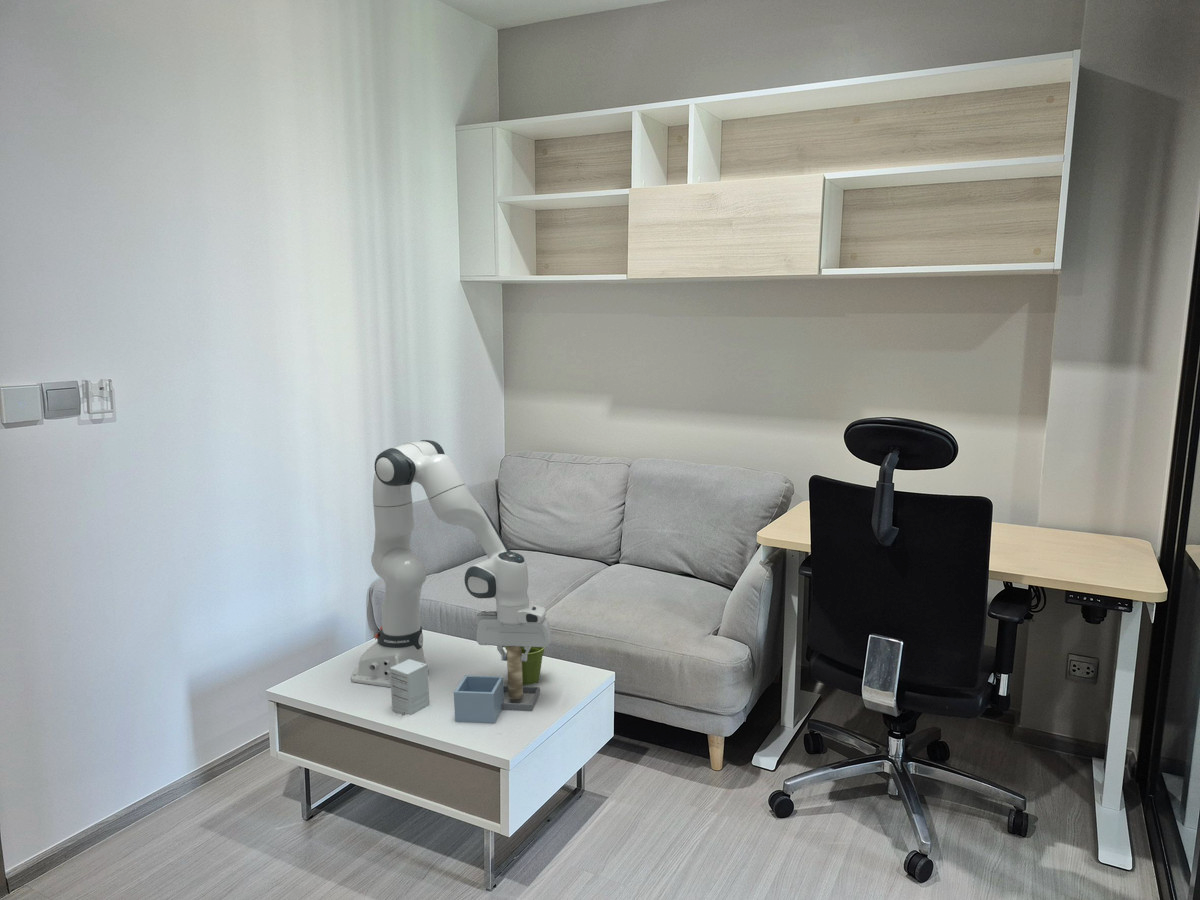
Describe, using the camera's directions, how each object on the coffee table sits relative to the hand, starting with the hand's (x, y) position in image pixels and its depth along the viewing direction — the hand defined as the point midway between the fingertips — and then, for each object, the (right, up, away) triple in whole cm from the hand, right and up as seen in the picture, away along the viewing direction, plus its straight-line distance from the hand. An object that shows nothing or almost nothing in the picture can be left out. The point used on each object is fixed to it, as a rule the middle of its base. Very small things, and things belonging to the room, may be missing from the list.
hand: (514, 660), depth 229 cm
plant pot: (+2, -11, +16) cm, 19 cm away
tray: (0, -12, +2) cm, 13 cm away
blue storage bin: (-9, -14, -5) cm, 17 cm away
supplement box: (-28, -14, 0) cm, 31 cm away
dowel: (0, -10, +2) cm, 10 cm away
